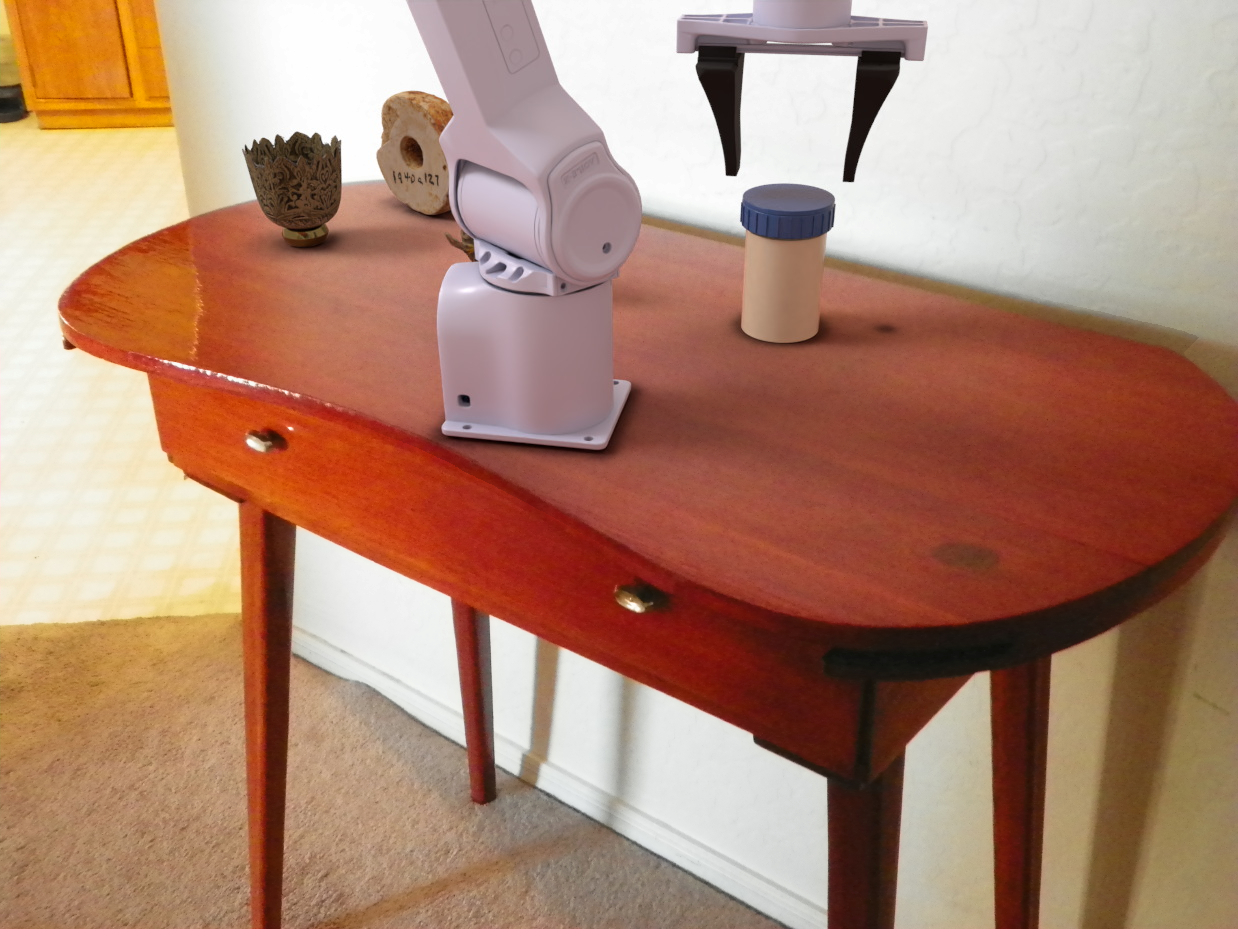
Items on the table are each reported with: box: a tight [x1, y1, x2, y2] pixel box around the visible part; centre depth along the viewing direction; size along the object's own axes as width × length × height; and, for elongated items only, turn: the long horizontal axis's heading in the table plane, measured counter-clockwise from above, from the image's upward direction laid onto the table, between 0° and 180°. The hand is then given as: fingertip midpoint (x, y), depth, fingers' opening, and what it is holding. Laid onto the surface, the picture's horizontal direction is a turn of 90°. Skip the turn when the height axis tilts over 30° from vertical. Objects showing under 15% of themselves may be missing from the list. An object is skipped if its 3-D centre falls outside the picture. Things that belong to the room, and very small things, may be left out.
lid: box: [739, 182, 837, 239], centre depth 73 cm, size 6×6×2 cm
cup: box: [241, 131, 343, 248], centre depth 90 cm, size 8×7×8 cm
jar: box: [740, 229, 828, 344], centre depth 75 cm, size 5×5×9 cm
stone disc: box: [375, 90, 454, 216], centre depth 97 cm, size 10×4×10 cm, turn 45°
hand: (790, 174), depth 72 cm, fingers open, 7 cm apart
